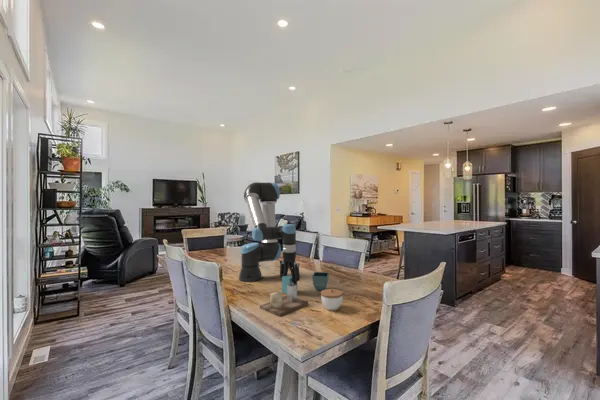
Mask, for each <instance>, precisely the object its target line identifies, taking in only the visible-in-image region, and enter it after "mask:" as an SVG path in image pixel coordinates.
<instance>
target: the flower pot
mask: <svg viewBox="0 0 600 400" xmlns="http://www.w3.org/2000/svg"><path fill="white" fill-rule="evenodd" d="M329 274H330V273H329V272H324V271H323V272H319V271H314V272H313V274H312V276H311V277H312V284H313V287H314V289H315V290H316V291H323V290H326V289H327V285H328V283H329V276H330V275H329Z"/></svg>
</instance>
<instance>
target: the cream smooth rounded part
mask: <svg viewBox="0 0 600 400" xmlns="http://www.w3.org/2000/svg"><path fill="white" fill-rule="evenodd" d="M282 297H283V293H282V292H272V293H270V298H269V299H270V301H269V302H270V304H271V308H273V309H279V308H281V307H282Z"/></svg>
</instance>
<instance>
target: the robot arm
mask: <svg viewBox="0 0 600 400" xmlns="http://www.w3.org/2000/svg"><path fill="white" fill-rule="evenodd" d="M280 193H281V192H280V187H279V186H278V184H277V183H275V182H257V181H256V182H252V183H250V184H249V185H248V186H247V187H246V188H245V190H244V192H243V199H244V202H245V203H246V204H247V207H248V210H249V214H250V217H251V220H252V225H253V228H252V230H251V236H252V239H253V241H258V242H251V243H247V244H246V243H245V244H243V245H241V249H240V250H241V251H240V254H241V255H240V257H241V259H240V260H241V268H240V272H239V275H238V280H239V281H241V282H246V283H247V282H256V281H257V282H258V281H259V280H261V279H262V278H263V275H262V271H261V268H260V263H263V262H274V261H278V260H279V259H280V258H281V254H282V259H283V260H279V266H280V267H279V278H280V279H282V277H283V276H286V275H288V271H290V275H292V280H293V281H292V284H295V285H297V286H298V282H300V280H301V279H300V263H298V262H296V258H297V243H296V242H297V240H296V239H297V238H296V237H297V236H296V235H297V234H296V233H297V230H296V229H297V228H296V225H295V224H293V223H285V224H283V225H278V226H276V203H277V202H278V200H279V198H280V196H281V194H280ZM261 205H262V207H261ZM279 240H282V244H280V243H279ZM259 242H260V244H259ZM282 251H283V252H282Z"/></svg>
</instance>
